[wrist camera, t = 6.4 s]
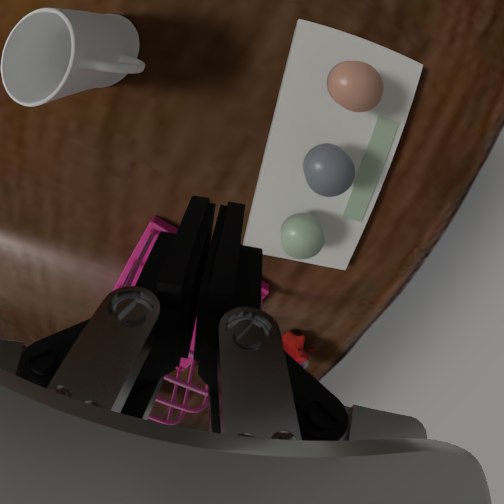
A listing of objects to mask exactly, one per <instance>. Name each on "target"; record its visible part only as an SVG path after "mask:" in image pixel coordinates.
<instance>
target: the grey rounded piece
mask: <svg viewBox="0 0 504 504" xmlns="http://www.w3.org/2000/svg"><path fill="white" fill-rule="evenodd" d="M303 171H304V174H305V178H306V181H307V183H308V185H309V187H310V188H311V189H312V190H313V191H314V192H315V193H317V194H319V195H321V196H325V197H334V196H338V195H340V194H342V193H344V192H345V191H347V190H348V189H349V188H350V186H351V185H352V183H353V181H354V178H355V167H354V164H353V162H352V160H351V159H350V157H349V156H348V155H347V154H346V152H345V151H344V150H343V149H342V148H340V147H339V146H337V145H334V144H330V143H324V144H319V145H317V146H315V147H313V148H312V149H311V150H310V151H309V152H308V153H307V154H306V156H305V158H304V161H303Z"/></svg>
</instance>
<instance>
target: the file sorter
mask: <svg viewBox="0 0 504 504" xmlns="http://www.w3.org/2000/svg"><path fill="white" fill-rule="evenodd" d="M161 231H165V232H171V233H177V231H178V229H177V228H175V227H174V226H172V225H171V224H169V223H167V222H166V221H164V220H163V219H161V218H159V217H158V216H154V217H153V218H152V220H151V221H150V223H149V225H148V227H147V228H146V230H145V232H144V234H143V235H142V237H141V239H140V241H139V242H138V244H137V246H136V248H135V250H134V251H133V253H132V255H131V257H130V259H129V261H128V263H127V264H126V266H125V268H124V270H123V272H122V274H121V276H120V278H119V280H118V282H117V283H116V285H115V287H114V289H113V291H114V290H116V289H118V288H121V287H125V286H135V285H136V282H137V280H138V278H139V276H140V273H141V271H142V269H143V267H144V265H145V263H146V260H147V258H148V256H149V254H150V252H151V250H152V248H153V245H154V243H155V241H156V239H157V237H158V235H159V233H160V232H161ZM268 294H269V284H268V283H266V282H264V281H263V280H262V288H261V310H262V311H263V308H262V299H264V298H265V297H266V296H267V295H268ZM196 321H197V318H196ZM195 332H196V322H195V327H194V332H193V337H192V341H191V346H190V351H189V356H188V359H186V358H181V361H180V366H179V367H176V369H178V372H177V376H176V378H175V377H173V376H170V375H168V374H166V375H165V376H164V379H165V380H168V381H170V382H172V383H175V385H174V390H173V395H172V400H171V401H169V400H166V399H164V398H161V397H158V396H157V397H156V400H155V401H158V402H160V403H163V404H166V405H168V406H170V409H169V413H168V418H167V420H163V419H161V418H158V417H156V416H153V415H151V414H149V417H148V418H149V419H152V420H154V421H157V422H160V423H163V424H167V425H174V424H177V423H179V422H180V421H181V420H182V419H183V418H184V415H185V412H190V413H196V412H200V411H202V410H203V409H205V408H206V406H207V405H208V387H209V386H208V385H207V384H206V390H205V389H203V388H200V387H197V386H195V385H192V384H191V383H192V377H193V372H194V367H195V362H196V360H193V357H194V344H195ZM190 364H191V367H190V372H189V377H188V382H185V381H182V380H180V374H181V371H183V370H185V369H186V368H187V367H188V366H189V365H190ZM178 385H180V386H182V387H185V388H186V392H185V397H184V402H183V405H180V404H177V403H175V398H176V393H177V389H178ZM190 390H192V391H195V392H198V393H200V394H203V395H205V398H204V402H203V404H202V405H201V406H200V407H199V408H190V407H187V403H188V398H189V393H190ZM173 408H177V409H180V410H182V411H181V415H180V417H179V418H178V419H177V420H175V421H171V417H172V412H173Z"/></svg>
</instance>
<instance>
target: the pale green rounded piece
mask: <svg viewBox="0 0 504 504" xmlns="http://www.w3.org/2000/svg"><path fill="white" fill-rule="evenodd" d="M324 242H325V238H324V234H323V230H322V227H321V224H320V222H319V220H318V219H317V218H316V217H314V216H313V215H311V214H308V213H297V214H293V215H291V216H289V217H288V218H287V219H286V220H285V221H284V222H283V224H282V226H281V245H282V248H283V250H284V251H285V253H286V254H287V255H289V256H290V257H293V258H296V259H308V258H311V257H313V256H315V255H317V254H318V253H319V252H320V251H321V249H322V248H323V246H324Z"/></svg>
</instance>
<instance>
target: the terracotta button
mask: <svg viewBox="0 0 504 504" xmlns="http://www.w3.org/2000/svg"><path fill="white" fill-rule="evenodd" d="M327 89H328V92H329V94H330V96H331V97H332V99H333V100H334V101H335V102H336V103H338V104H339V105H341V106H342V107H344V108H345V109H347V110H349V111H353V112H366V111H369V110H371V109H372V108H374V107H375V106H376V105H377V104H378V103H379V102H380V100H381V98H382V95H383V82H382V79H381V76H380V75H379V73H378V72H377V70H376V69H375V68H373V67H372V66H371V65H369V64H367V63H365V62H362V61H343V62H340V63H338V64H336V65H335V66H334V67H333V68H332V69H331V70H330V72H329V74H328V77H327Z"/></svg>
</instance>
